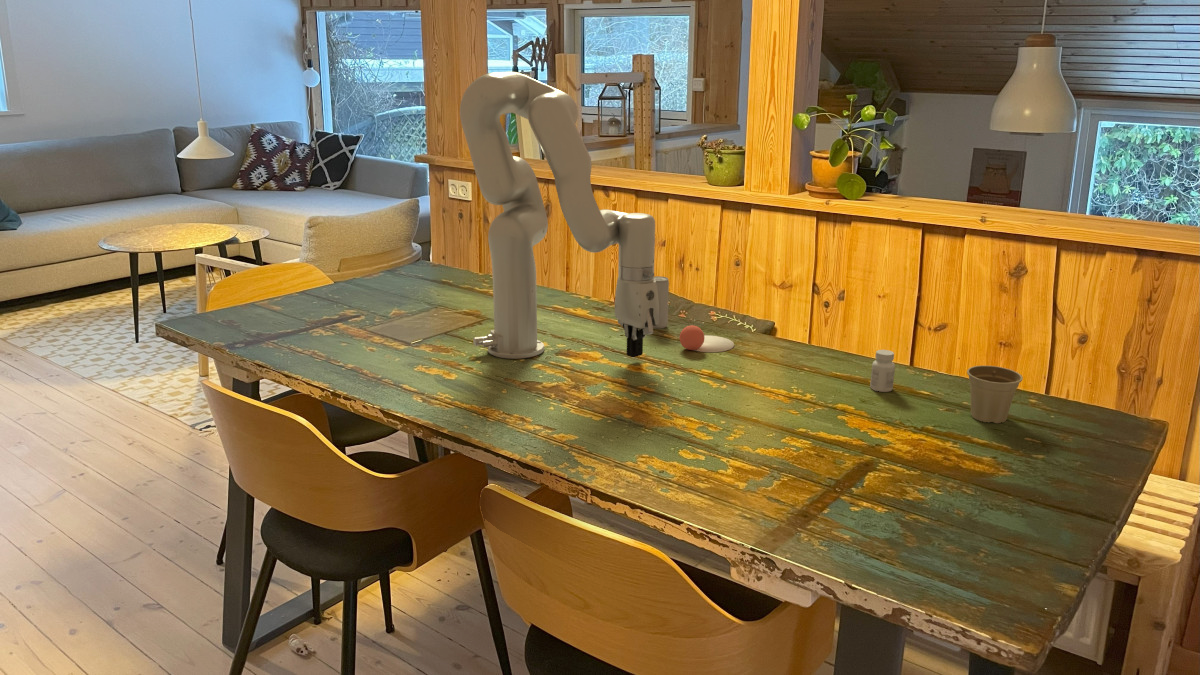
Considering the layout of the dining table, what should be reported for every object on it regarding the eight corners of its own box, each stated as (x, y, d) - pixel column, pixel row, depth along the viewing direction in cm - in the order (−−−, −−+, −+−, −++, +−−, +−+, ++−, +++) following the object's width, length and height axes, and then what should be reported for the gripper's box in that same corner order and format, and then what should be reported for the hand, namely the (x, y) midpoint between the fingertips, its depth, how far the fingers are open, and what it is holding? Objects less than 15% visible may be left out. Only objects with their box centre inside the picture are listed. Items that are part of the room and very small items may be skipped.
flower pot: (1011, 431, 166) (1018, 386, 163) (956, 420, 170) (962, 376, 168) (1019, 414, 173) (1026, 371, 171) (967, 404, 178) (972, 362, 175)
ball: (685, 353, 205) (689, 328, 204) (673, 346, 210) (676, 322, 209) (707, 353, 208) (710, 328, 206) (694, 346, 212) (697, 322, 211)
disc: (698, 354, 205) (698, 354, 205) (672, 339, 216) (672, 339, 216) (744, 348, 210) (744, 347, 210) (716, 333, 220) (716, 332, 220)
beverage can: (668, 329, 224) (669, 281, 220) (648, 329, 224) (649, 280, 220) (667, 323, 228) (668, 276, 225) (647, 323, 228) (648, 276, 225)
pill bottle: (893, 386, 187) (897, 350, 185) (892, 393, 183) (896, 356, 181) (870, 383, 189) (874, 347, 186) (869, 391, 185) (872, 354, 182)
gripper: (673, 277, 191) (670, 361, 197) (628, 263, 203) (626, 343, 208) (644, 282, 187) (642, 368, 192) (600, 268, 198) (600, 349, 204)
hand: (634, 355), depth 200 cm, fingers closed
